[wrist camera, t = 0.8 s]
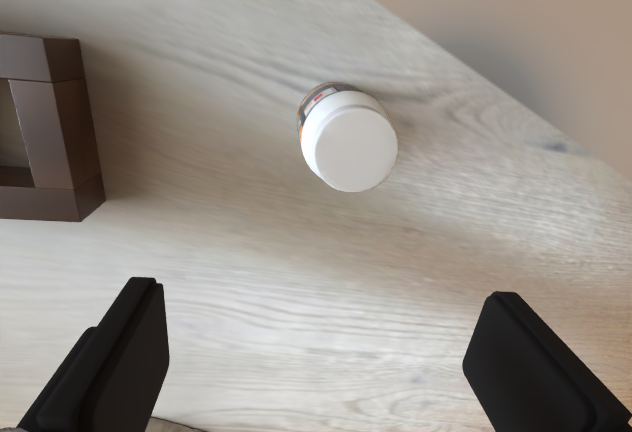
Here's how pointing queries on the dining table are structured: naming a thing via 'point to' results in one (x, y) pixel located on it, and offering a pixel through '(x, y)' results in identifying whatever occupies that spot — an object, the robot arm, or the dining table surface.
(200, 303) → the dining table surface
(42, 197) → the holder
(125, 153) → the dining table surface
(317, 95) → the pill bottle
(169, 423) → the ceramic cottage
